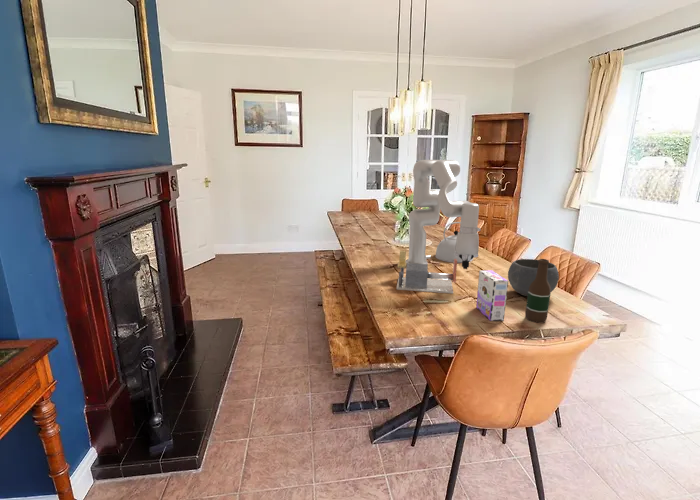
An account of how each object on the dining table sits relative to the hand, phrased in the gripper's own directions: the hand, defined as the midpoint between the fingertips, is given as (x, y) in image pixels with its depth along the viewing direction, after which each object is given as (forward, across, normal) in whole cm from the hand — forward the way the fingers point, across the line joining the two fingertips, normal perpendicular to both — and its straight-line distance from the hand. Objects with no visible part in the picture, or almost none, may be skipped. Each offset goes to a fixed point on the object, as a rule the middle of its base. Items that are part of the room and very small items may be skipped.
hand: (465, 268), depth 176 cm
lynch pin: (+7, +12, 0) cm, 14 cm away
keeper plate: (+2, +30, -6) cm, 30 cm away
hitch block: (+10, +18, -1) cm, 21 cm away
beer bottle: (+10, -24, +30) cm, 40 cm away
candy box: (+10, -7, +28) cm, 31 cm away
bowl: (+10, -29, +2) cm, 31 cm away
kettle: (+10, -1, -57) cm, 58 cm away
